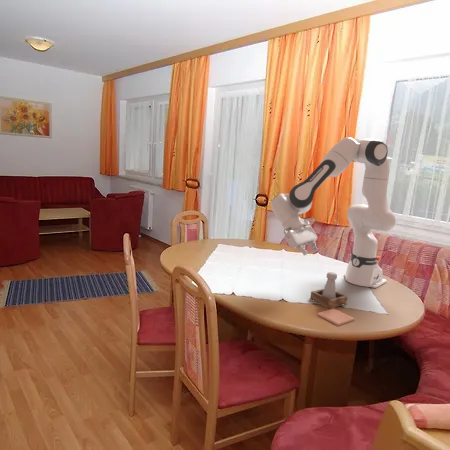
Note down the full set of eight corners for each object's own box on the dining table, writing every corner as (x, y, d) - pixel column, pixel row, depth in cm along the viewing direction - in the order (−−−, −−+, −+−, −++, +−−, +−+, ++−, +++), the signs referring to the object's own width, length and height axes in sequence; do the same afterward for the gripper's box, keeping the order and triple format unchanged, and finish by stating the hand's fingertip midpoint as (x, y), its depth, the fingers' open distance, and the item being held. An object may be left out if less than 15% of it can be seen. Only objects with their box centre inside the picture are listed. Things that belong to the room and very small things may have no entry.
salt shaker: (324, 297, 165) (328, 270, 163) (337, 302, 162) (341, 273, 159) (318, 301, 161) (323, 272, 158) (331, 305, 157) (335, 276, 155)
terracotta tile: (333, 310, 153) (333, 308, 153) (354, 320, 145) (354, 318, 145) (317, 315, 147) (317, 313, 147) (338, 325, 139) (338, 323, 139)
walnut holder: (326, 295, 169) (327, 287, 168) (346, 304, 160) (347, 296, 160) (310, 299, 162) (311, 291, 162) (329, 308, 154) (331, 300, 153)
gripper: (287, 225, 158) (305, 252, 154) (309, 220, 174) (326, 245, 170) (277, 233, 162) (294, 260, 158) (300, 227, 177) (316, 252, 173)
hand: (311, 252), depth 164 cm, fingers open, 8 cm apart
